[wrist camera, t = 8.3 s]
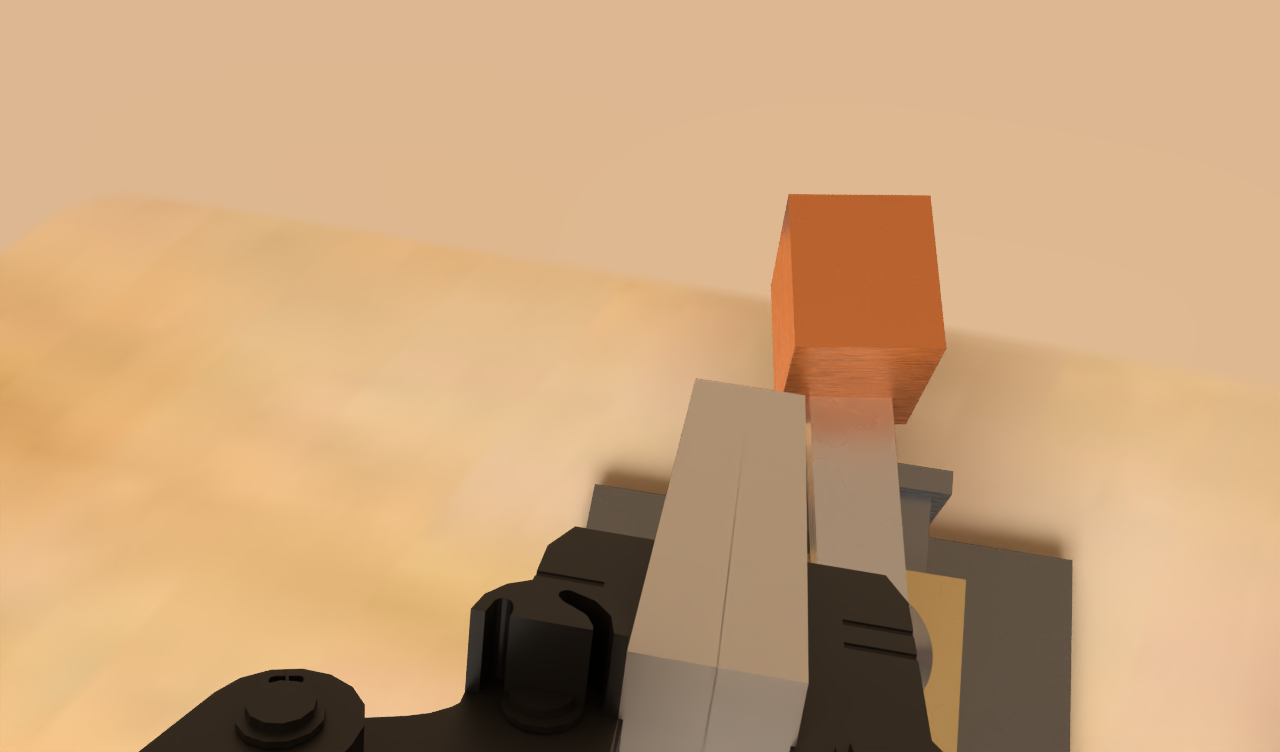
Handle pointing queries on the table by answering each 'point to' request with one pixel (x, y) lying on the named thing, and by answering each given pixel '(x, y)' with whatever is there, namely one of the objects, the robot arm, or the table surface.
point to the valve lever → (857, 366)
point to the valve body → (955, 621)
